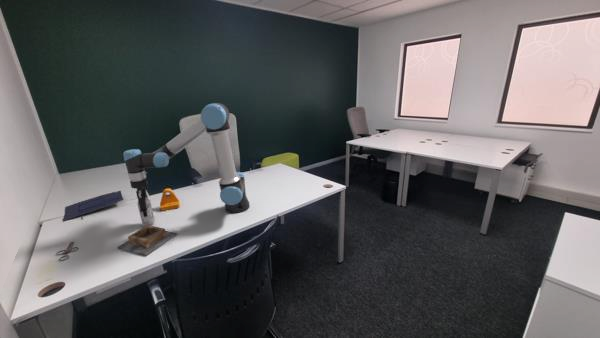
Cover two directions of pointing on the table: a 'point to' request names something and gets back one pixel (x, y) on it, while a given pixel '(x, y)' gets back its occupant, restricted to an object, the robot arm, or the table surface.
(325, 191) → the table surface
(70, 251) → the grey scissors
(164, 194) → the bracket
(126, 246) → the can holder
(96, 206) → the navy blue flat panel
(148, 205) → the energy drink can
